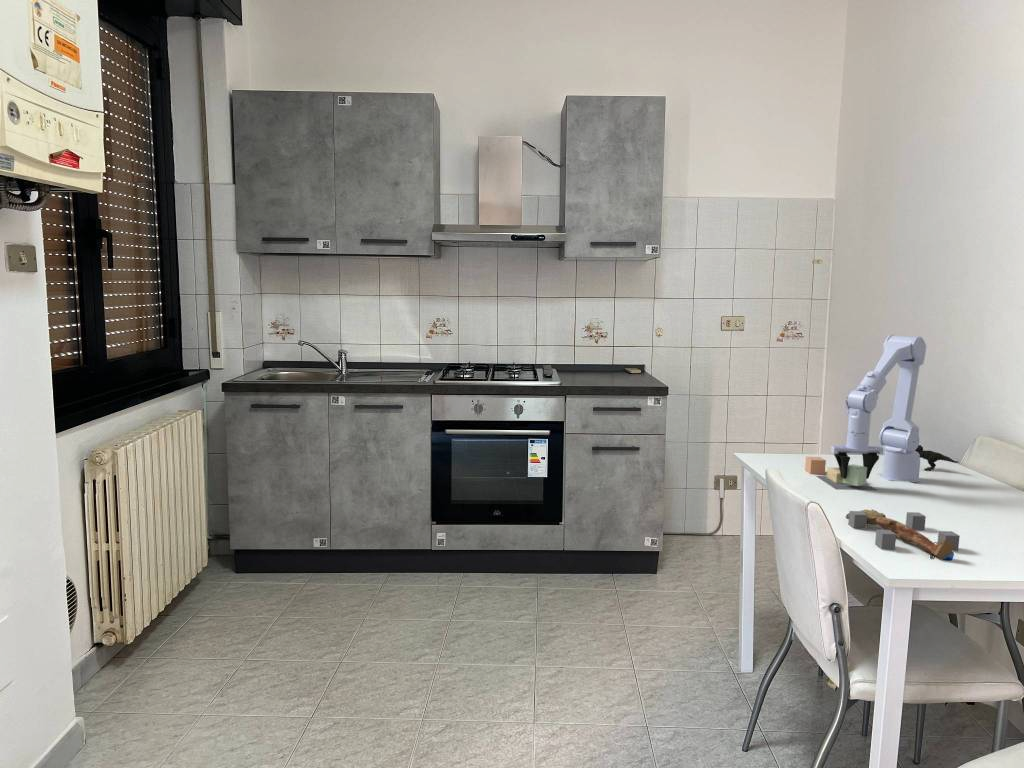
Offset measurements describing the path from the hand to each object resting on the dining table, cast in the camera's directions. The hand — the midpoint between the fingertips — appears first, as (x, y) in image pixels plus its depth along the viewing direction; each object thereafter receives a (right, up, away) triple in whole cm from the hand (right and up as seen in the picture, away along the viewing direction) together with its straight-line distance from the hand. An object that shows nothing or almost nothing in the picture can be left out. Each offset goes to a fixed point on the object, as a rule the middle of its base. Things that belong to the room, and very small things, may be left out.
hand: (854, 477), depth 215 cm
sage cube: (0, -2, 0) cm, 2 cm away
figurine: (-10, -9, -42) cm, 44 cm away
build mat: (0, -3, +5) cm, 5 cm away
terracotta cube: (-5, -1, +17) cm, 18 cm away
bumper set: (-9, -9, -42) cm, 44 cm away
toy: (+36, -1, +24) cm, 43 cm away
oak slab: (0, -2, +8) cm, 8 cm away
